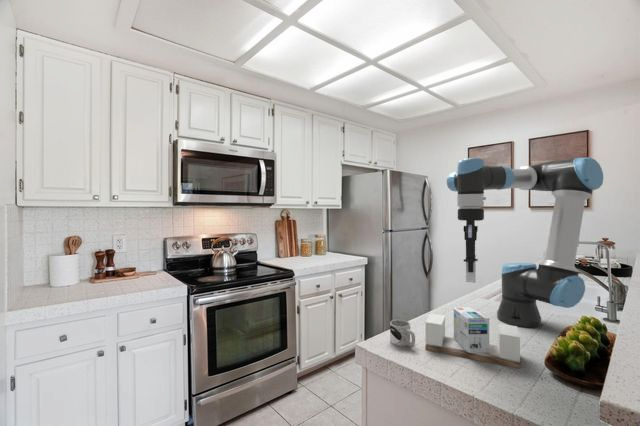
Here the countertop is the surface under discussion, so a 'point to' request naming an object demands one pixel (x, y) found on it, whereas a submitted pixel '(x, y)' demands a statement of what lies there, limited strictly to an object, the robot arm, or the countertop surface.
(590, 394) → the countertop surface
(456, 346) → the rail board
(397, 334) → the mug
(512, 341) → the mounted modules
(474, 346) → the light bulb box
